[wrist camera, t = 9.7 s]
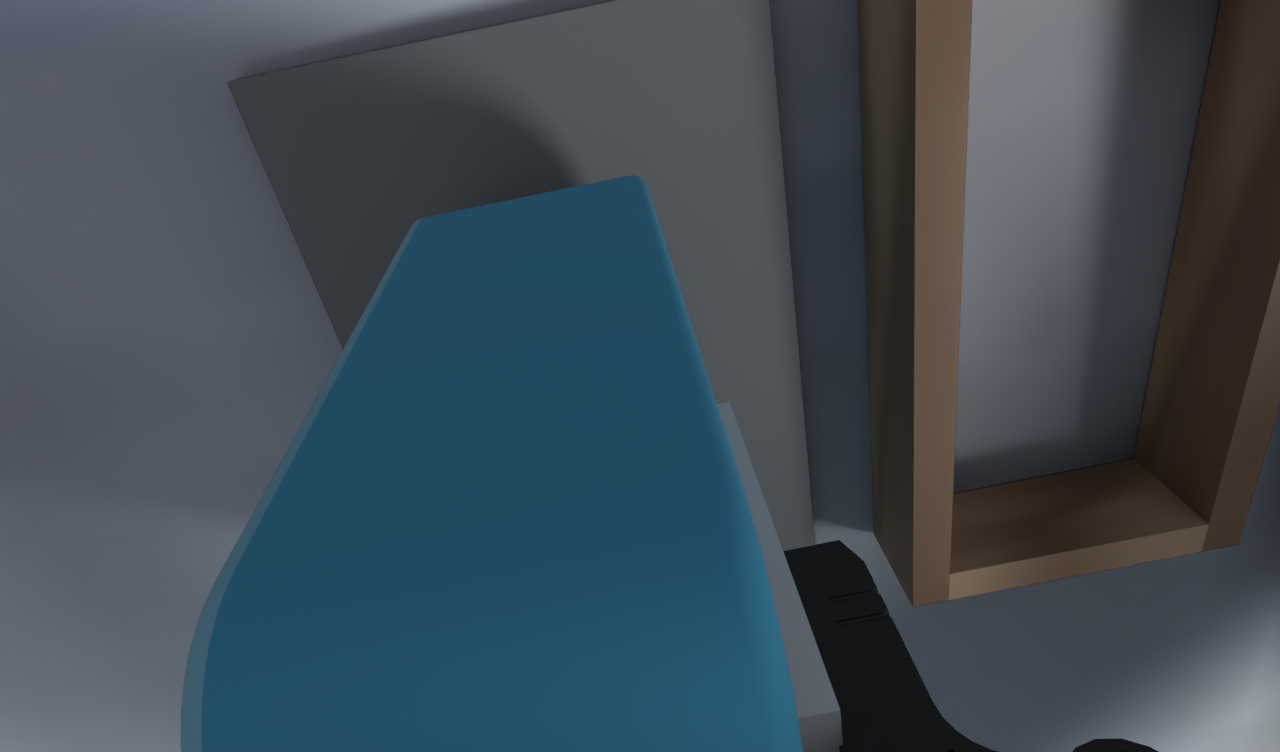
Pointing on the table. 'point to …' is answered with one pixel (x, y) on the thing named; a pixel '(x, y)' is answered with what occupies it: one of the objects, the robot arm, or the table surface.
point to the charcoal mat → (567, 174)
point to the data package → (504, 517)
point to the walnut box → (1184, 351)
